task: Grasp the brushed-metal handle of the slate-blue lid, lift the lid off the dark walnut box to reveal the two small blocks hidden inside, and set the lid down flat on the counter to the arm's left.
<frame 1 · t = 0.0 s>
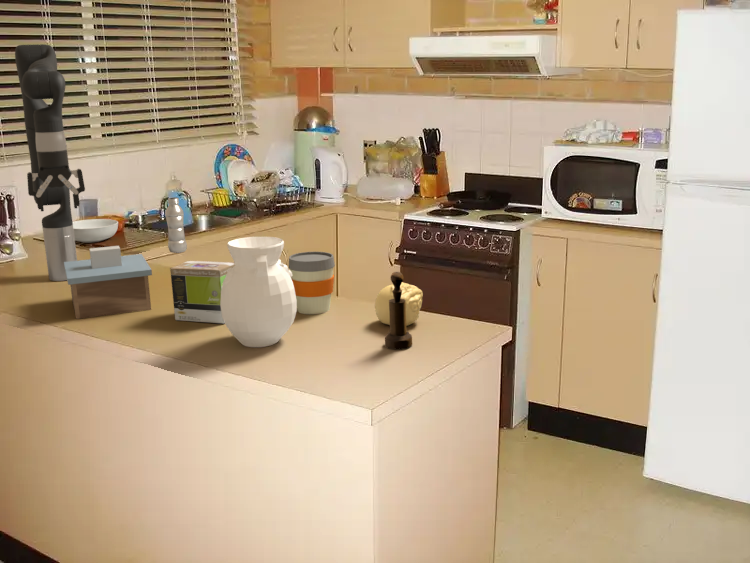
hand: (59, 209, 230), 29 cm above the worktop, fingers open, 8 cm apart
box: (110, 305, 245), on the worktop
serving bowl: (92, 241, 336), on the worktop
off-white block: (126, 303, 242), point 1 cm above the worktop, touching box
sculpture: (398, 324, 221), on the worktop
mustard block: (94, 300, 246), point 1 cm above the worktop, touching box
plastic bottle: (178, 253, 310), on the worktop
dark brown tall piece: (398, 346, 204), on the worktop
reusable coffee cup: (313, 310, 235), on the worktop
tea box: (208, 318, 230), on the worktop
lid: (107, 271, 242), point 10 cm above the worktop, touching box
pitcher: (261, 341, 210), on the worktop
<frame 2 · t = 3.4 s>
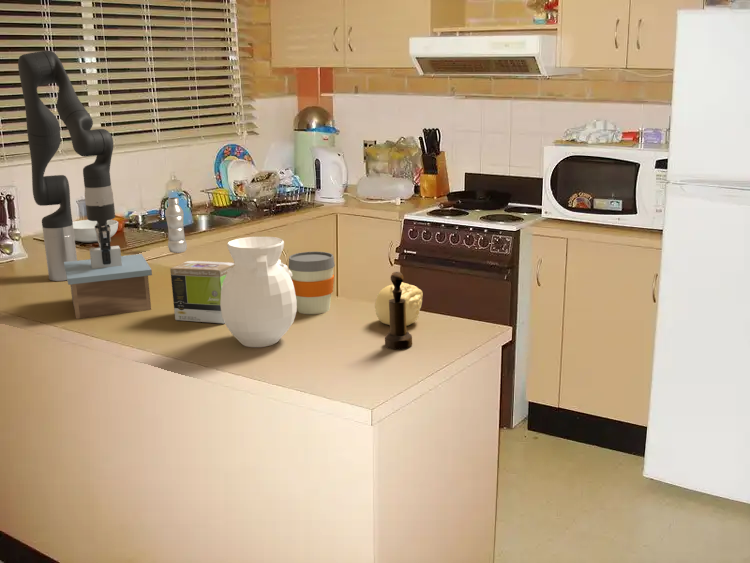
hand: (106, 262, 241), 13 cm above the worktop, fingers closed on lid, 4 cm apart
lid: (107, 271, 242), point 10 cm above the worktop, touching box, gripper
everything else where it was.
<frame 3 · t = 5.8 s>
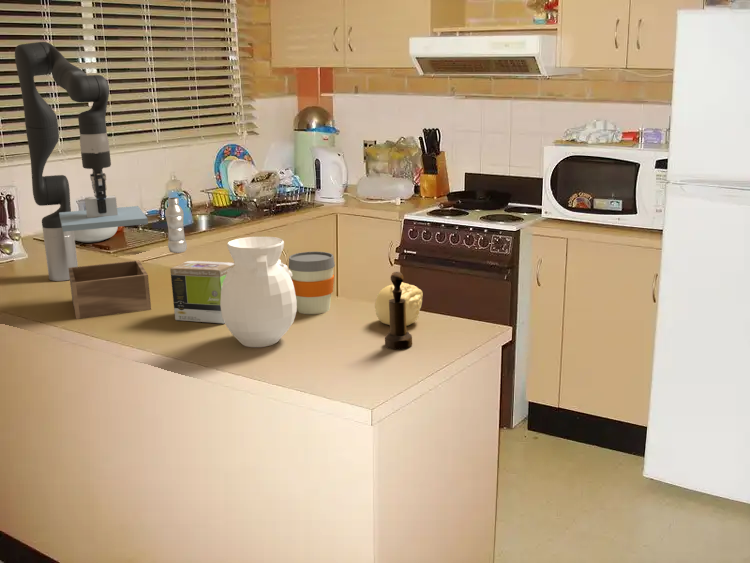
hand: (101, 211, 238), 27 cm above the worktop, fingers closed on lid, 4 cm apart
lid: (102, 220, 239), point 24 cm above the worktop, touching gripper
everything else where it was.
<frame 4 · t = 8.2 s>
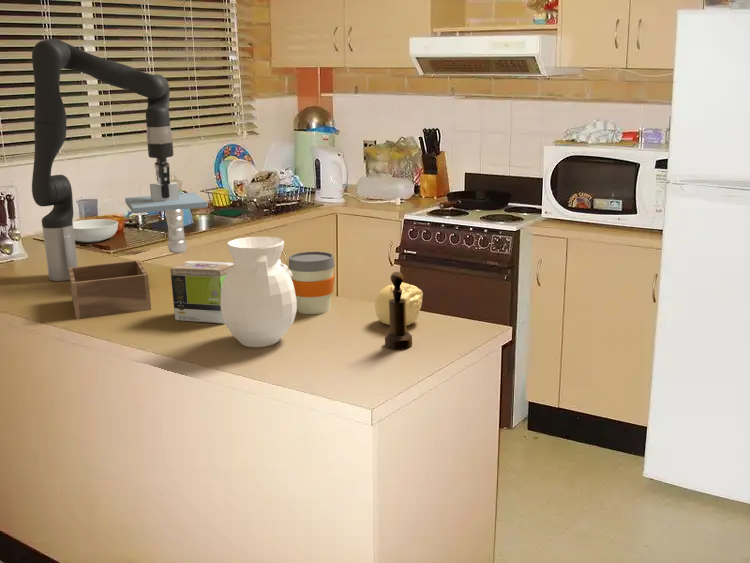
hand: (164, 196, 266), 26 cm above the worktop, fingers closed on lid, 4 cm apart
lid: (165, 204, 267), point 24 cm above the worktop, touching gripper
everything else where it was.
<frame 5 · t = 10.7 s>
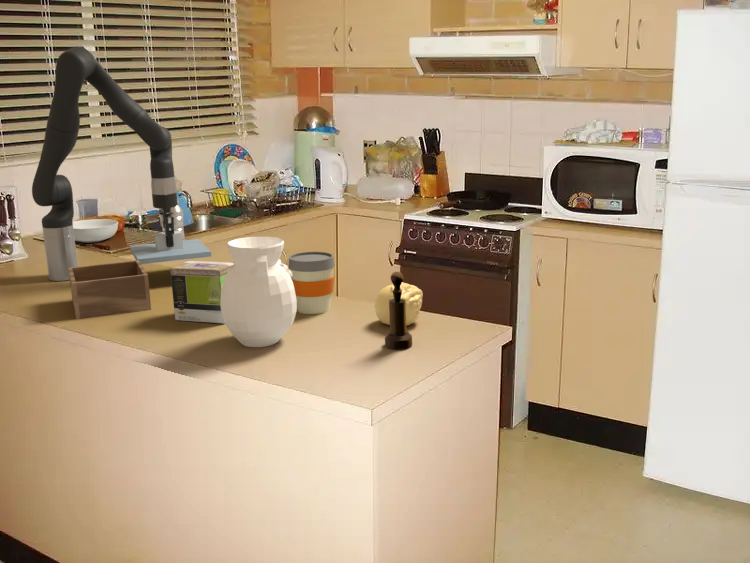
hand: (169, 245, 270), 11 cm above the worktop, fingers closed on lid, 4 cm apart
lid: (170, 253, 270), point 8 cm above the worktop, touching gripper
everything else where it was.
when the fingers open (3 cm above the worktop, at t = 13.1 s): lid drops 2 cm, on the worktop.
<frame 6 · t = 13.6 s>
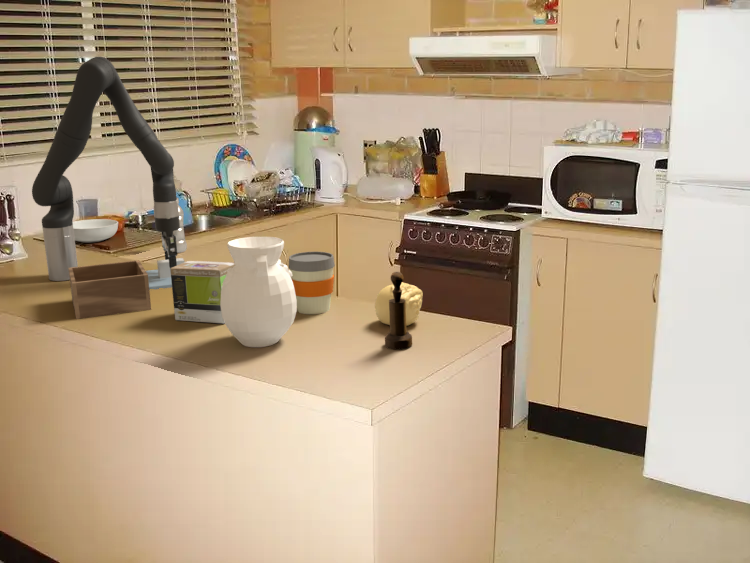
hand: (171, 265, 272), 4 cm above the worktop, fingers open, 8 cm apart
lid: (172, 280, 273), on the worktop
everything else where it was.
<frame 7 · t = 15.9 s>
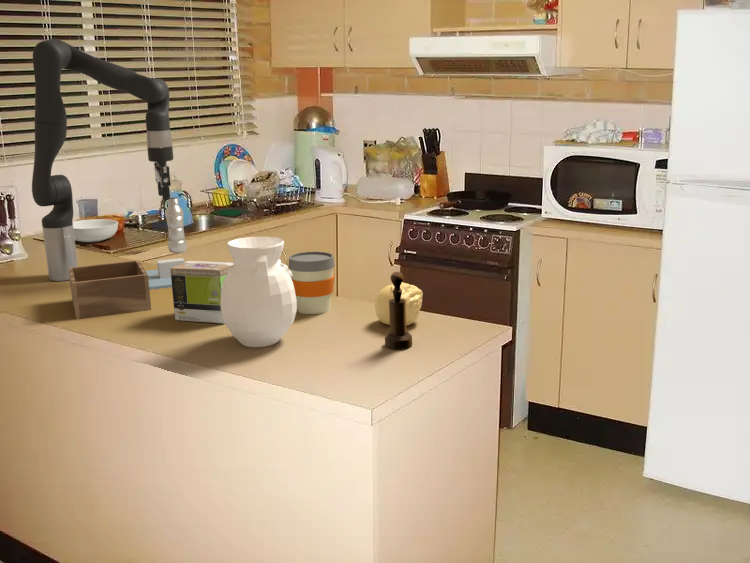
hand: (164, 197, 266), 26 cm above the worktop, fingers open, 8 cm apart
nothing on the worktop moved.
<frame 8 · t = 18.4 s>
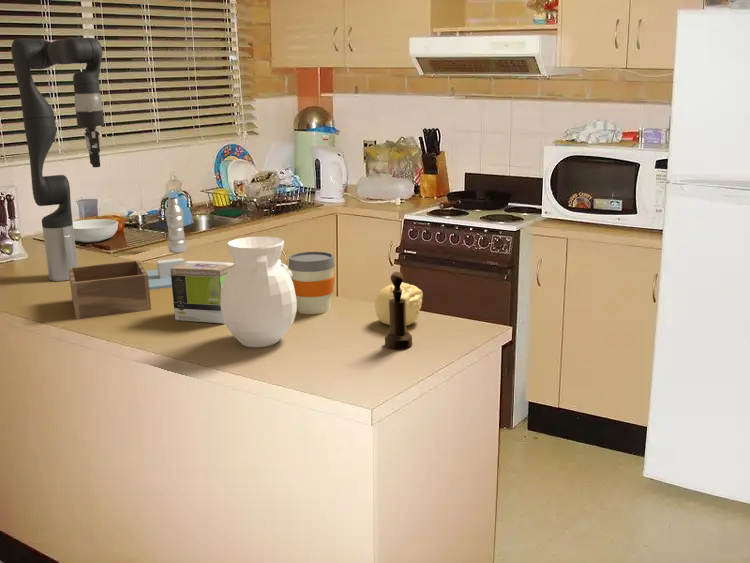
hand: (95, 165, 251), 38 cm above the worktop, fingers open, 8 cm apart
nothing on the worktop moved.
at the end: lid inside the target area (0.1 cm from its centre), on the worktop; lid tilted 0°; lid touching worktop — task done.
